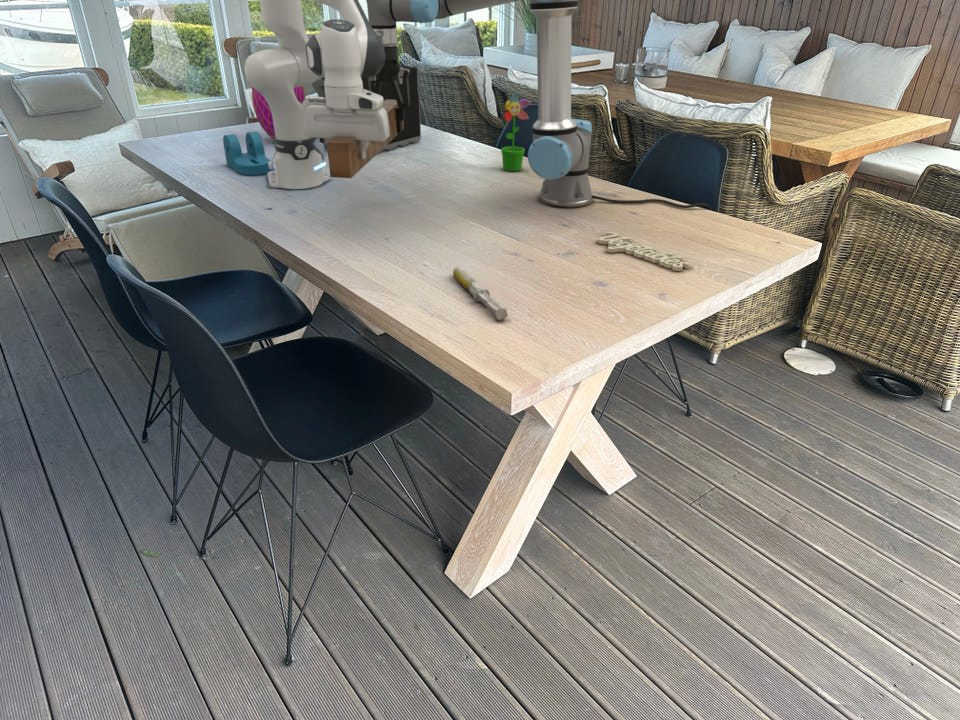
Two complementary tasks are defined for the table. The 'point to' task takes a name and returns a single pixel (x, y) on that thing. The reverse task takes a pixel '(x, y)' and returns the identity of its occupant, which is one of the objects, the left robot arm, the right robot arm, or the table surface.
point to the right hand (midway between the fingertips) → (389, 131)
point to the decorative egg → (265, 112)
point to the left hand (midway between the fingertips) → (349, 157)
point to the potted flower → (513, 154)
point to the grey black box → (411, 112)
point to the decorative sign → (642, 251)
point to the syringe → (479, 293)
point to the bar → (358, 147)
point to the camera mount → (246, 154)
